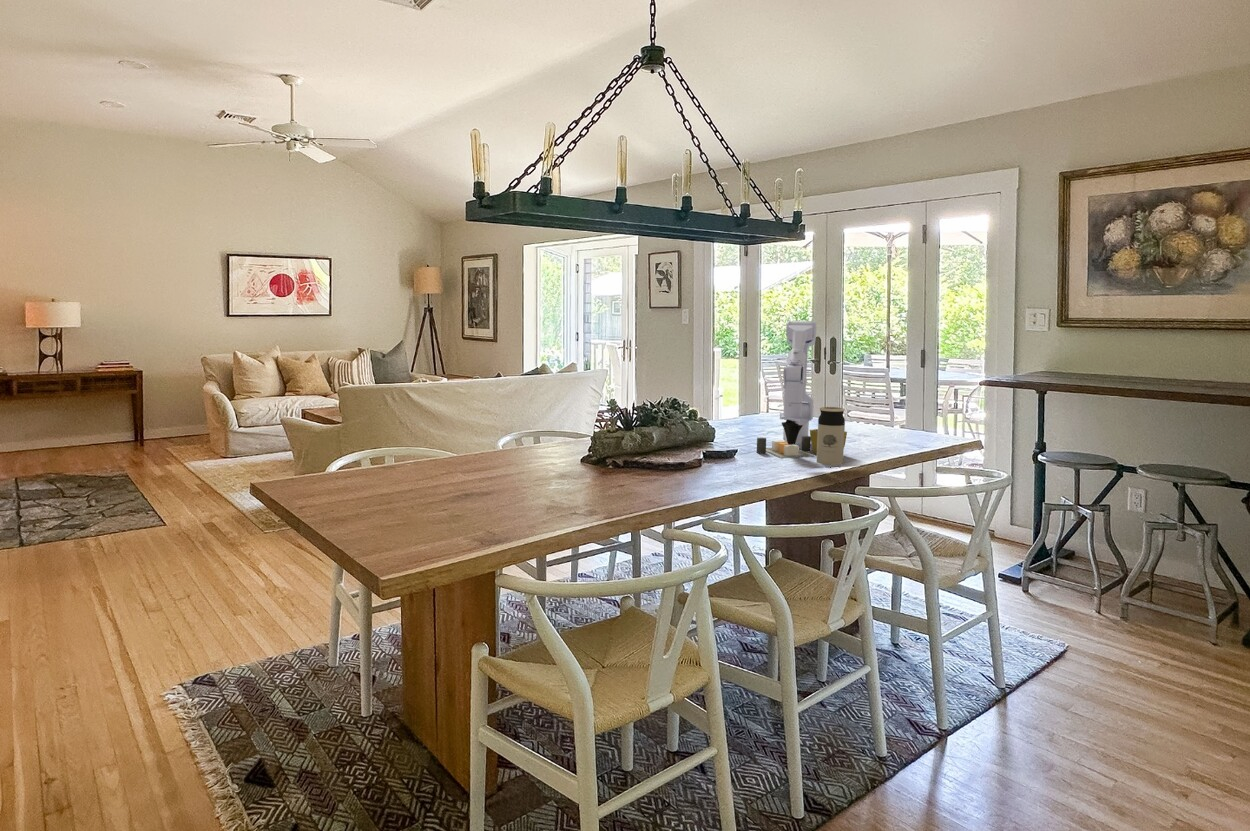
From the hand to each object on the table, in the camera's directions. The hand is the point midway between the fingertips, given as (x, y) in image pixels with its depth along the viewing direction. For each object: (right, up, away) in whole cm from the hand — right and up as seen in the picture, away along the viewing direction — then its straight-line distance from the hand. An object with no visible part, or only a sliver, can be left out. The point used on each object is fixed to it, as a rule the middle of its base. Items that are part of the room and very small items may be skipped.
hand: (791, 444), depth 257 cm
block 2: (-1, -3, +5) cm, 6 cm away
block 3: (0, -4, 0) cm, 3 cm away
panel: (-1, -4, +5) cm, 7 cm away
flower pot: (+12, -5, +3) cm, 14 cm away
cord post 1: (-9, -4, +4) cm, 11 cm away
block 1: (-2, -2, +9) cm, 10 cm away
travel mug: (+10, -7, -11) cm, 16 cm away
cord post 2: (+6, -4, +8) cm, 11 cm away
